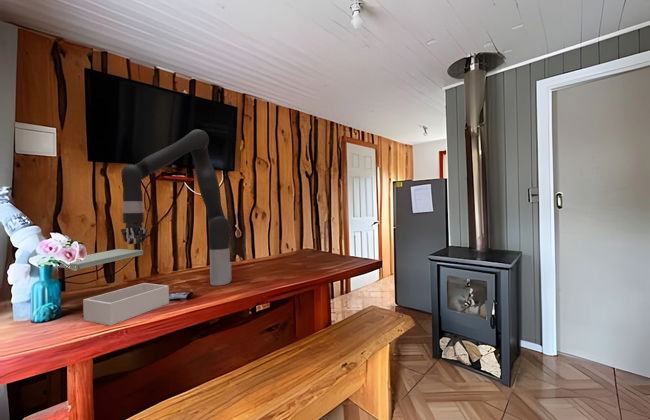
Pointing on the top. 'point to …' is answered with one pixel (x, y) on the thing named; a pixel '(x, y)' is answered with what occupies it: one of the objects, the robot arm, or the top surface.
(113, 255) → the lid
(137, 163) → the robot arm
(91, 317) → the tub
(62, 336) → the top surface
